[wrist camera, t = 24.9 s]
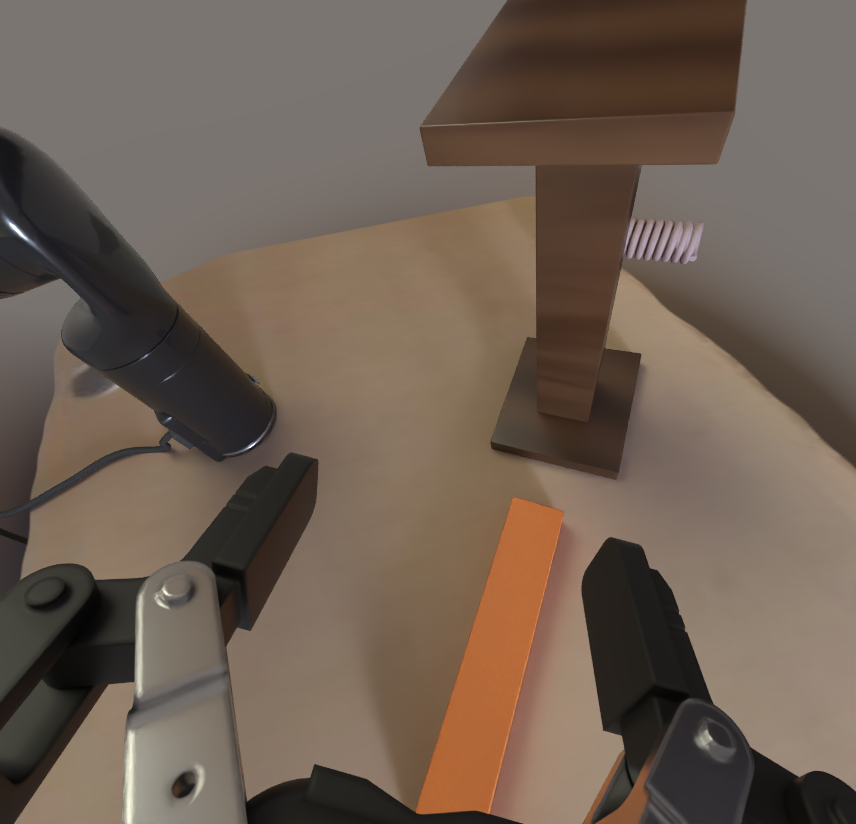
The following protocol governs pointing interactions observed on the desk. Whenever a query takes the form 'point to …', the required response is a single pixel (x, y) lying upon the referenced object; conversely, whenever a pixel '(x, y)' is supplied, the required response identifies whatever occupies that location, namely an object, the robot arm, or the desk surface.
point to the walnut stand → (586, 181)
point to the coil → (663, 240)
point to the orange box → (493, 665)
